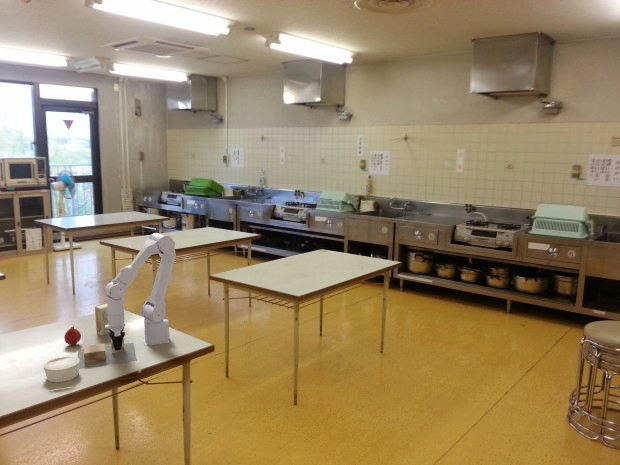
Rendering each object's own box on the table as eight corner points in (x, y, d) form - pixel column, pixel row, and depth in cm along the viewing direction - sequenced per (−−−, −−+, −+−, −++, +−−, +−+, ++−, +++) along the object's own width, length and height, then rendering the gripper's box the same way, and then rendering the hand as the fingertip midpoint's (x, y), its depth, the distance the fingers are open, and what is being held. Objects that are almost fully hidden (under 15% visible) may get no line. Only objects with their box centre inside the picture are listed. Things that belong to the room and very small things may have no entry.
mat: (133, 343, 195) (133, 342, 195) (136, 361, 178) (136, 360, 178) (78, 350, 187) (78, 349, 187) (76, 370, 170) (76, 369, 170)
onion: (74, 349, 188) (73, 329, 187) (61, 348, 189) (60, 328, 188) (84, 343, 194) (83, 324, 192) (71, 342, 195) (70, 323, 193)
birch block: (123, 347, 190) (123, 335, 189) (124, 351, 186) (123, 339, 185) (111, 349, 188) (110, 336, 187) (111, 353, 184) (111, 341, 183)
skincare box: (109, 329, 209) (108, 302, 207) (115, 332, 206) (114, 304, 204) (95, 334, 204) (94, 306, 202) (101, 336, 201) (100, 308, 199)
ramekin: (68, 367, 173) (67, 353, 172) (88, 375, 167) (87, 360, 166) (37, 379, 163) (36, 364, 162) (57, 388, 158) (56, 372, 157)
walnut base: (105, 353, 184) (104, 343, 183) (105, 361, 177) (105, 350, 177) (85, 356, 181) (84, 346, 180) (84, 364, 174) (83, 353, 174)
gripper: (104, 309, 189) (106, 342, 192) (104, 321, 176) (106, 356, 178) (123, 307, 192) (125, 339, 194) (125, 318, 179) (127, 353, 181)
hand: (117, 347), depth 187 cm, fingers closed on birch block, 4 cm apart
